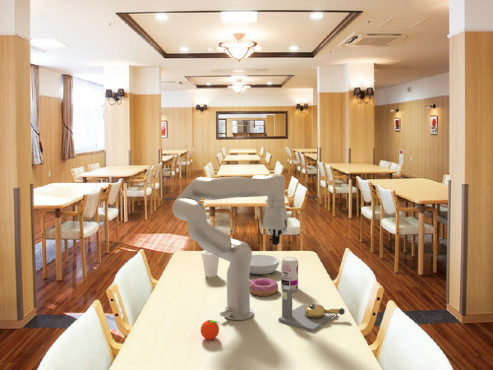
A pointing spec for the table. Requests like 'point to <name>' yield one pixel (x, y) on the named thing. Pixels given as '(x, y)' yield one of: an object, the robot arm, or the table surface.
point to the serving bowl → (263, 264)
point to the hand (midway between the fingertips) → (275, 244)
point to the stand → (299, 313)
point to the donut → (263, 287)
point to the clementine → (210, 329)
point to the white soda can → (289, 273)
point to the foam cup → (210, 264)
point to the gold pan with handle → (319, 311)
